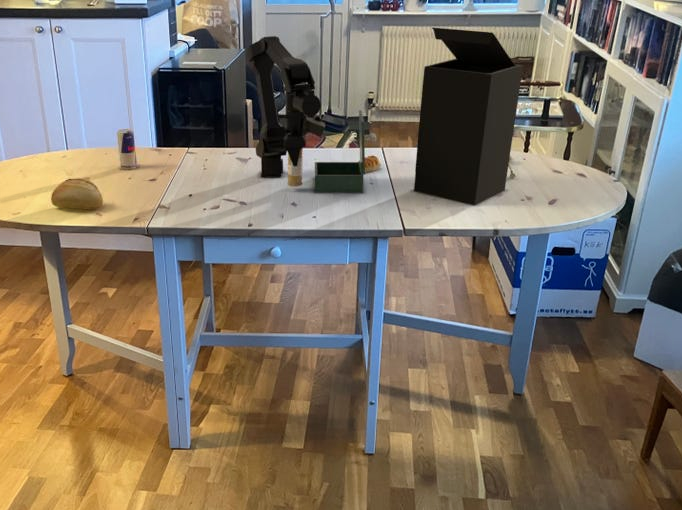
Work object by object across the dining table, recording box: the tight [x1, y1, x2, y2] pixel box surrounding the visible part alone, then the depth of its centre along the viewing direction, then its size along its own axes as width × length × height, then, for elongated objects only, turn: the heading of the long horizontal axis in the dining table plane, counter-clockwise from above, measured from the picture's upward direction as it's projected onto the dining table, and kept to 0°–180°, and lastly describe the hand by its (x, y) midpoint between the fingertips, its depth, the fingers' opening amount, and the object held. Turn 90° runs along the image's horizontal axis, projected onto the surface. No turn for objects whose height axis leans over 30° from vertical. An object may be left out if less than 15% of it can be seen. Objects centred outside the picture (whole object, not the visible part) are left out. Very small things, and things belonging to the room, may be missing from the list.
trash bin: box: [413, 27, 524, 206], centre depth 210 cm, size 20×19×45 cm
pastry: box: [357, 155, 382, 174], centre depth 241 cm, size 9×7×4 cm
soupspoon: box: [508, 155, 517, 179], centre depth 240 cm, size 22×3×7 cm
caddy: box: [314, 161, 365, 194], centre depth 227 cm, size 14×14×5 cm
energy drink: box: [116, 128, 138, 171], centre depth 245 cm, size 5×5×12 cm
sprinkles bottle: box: [287, 147, 304, 187], centre depth 220 cm, size 5×5×14 cm
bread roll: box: [50, 177, 104, 210], centre depth 212 cm, size 10×15×8 cm, turn 85°
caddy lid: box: [358, 109, 377, 175], centre depth 221 cm, size 15×14×4 cm
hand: (295, 163), depth 220 cm, fingers closed on sprinkles bottle, 4 cm apart
